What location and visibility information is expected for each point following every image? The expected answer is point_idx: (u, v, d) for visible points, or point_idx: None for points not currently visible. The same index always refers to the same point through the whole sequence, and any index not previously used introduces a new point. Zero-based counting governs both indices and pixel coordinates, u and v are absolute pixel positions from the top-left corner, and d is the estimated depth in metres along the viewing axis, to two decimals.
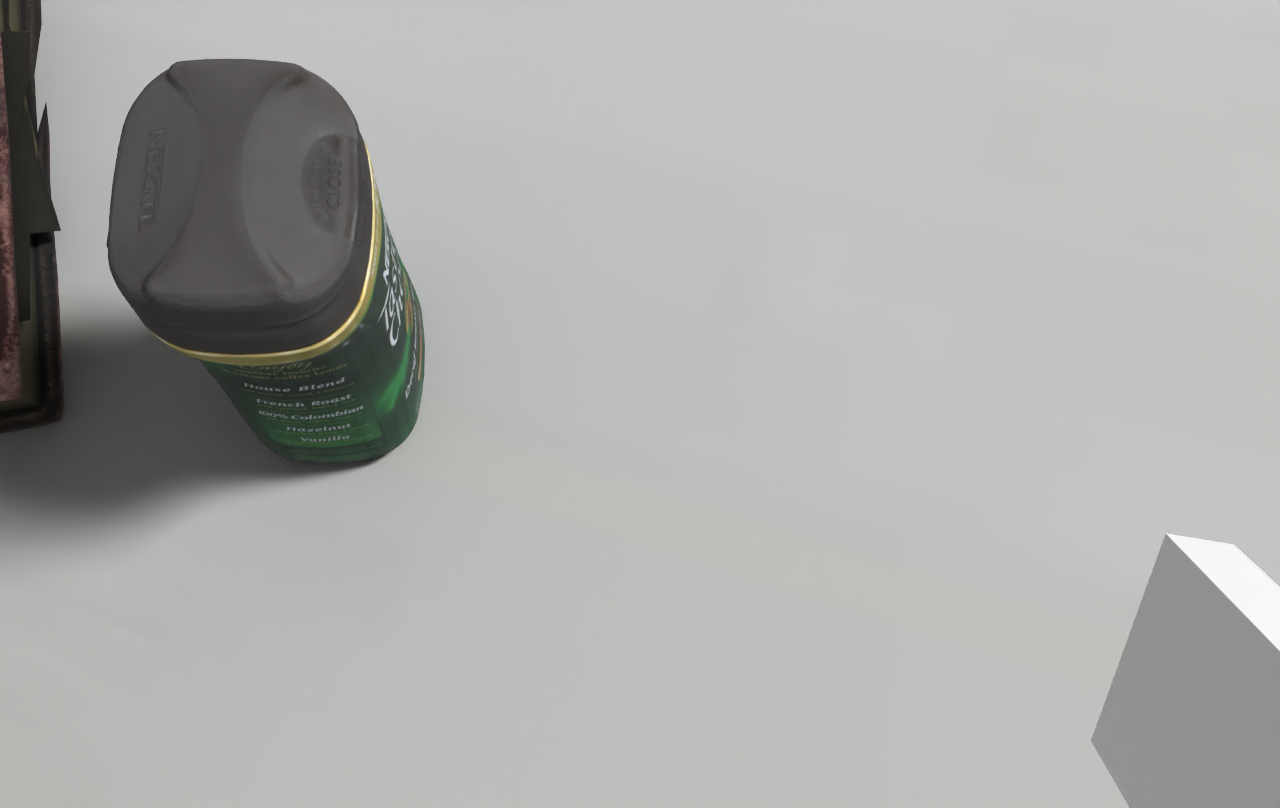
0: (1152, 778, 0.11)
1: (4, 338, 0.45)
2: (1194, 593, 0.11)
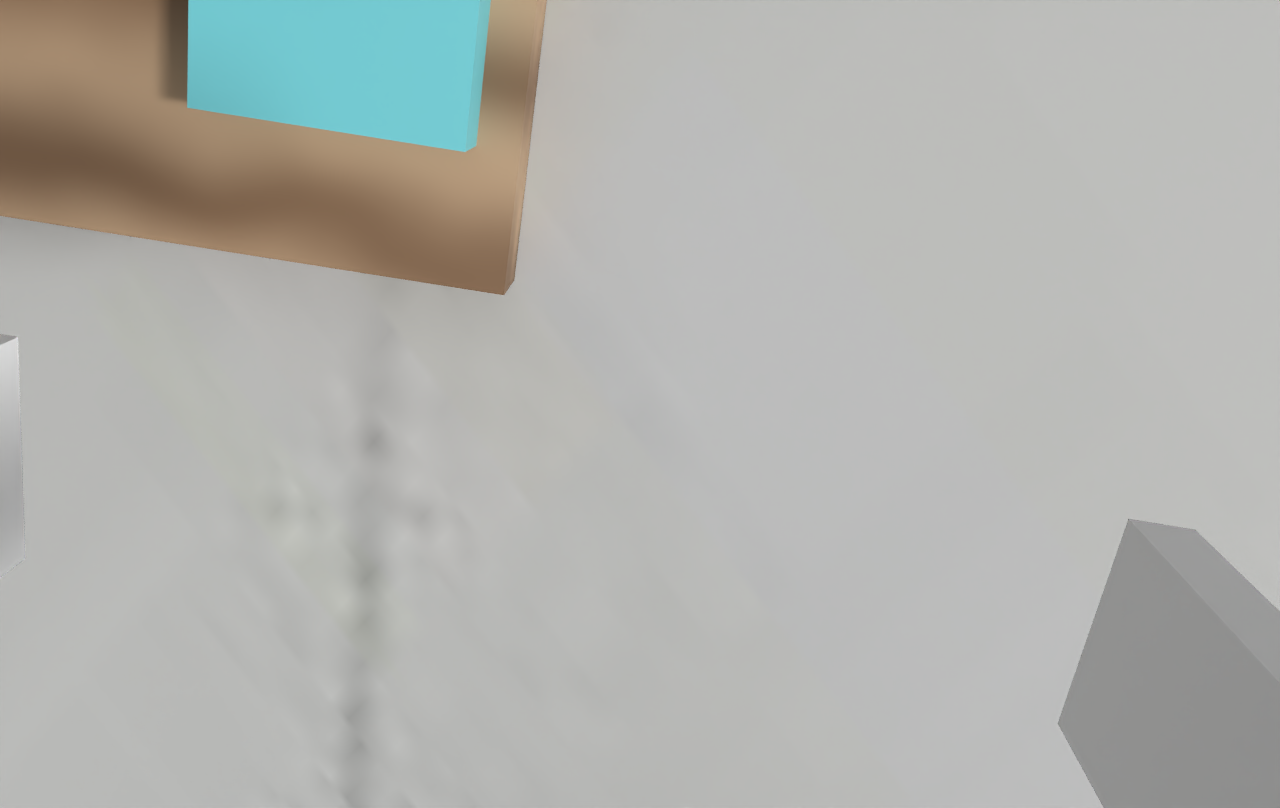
0: (1113, 758, 0.11)
1: None
2: (1154, 576, 0.11)
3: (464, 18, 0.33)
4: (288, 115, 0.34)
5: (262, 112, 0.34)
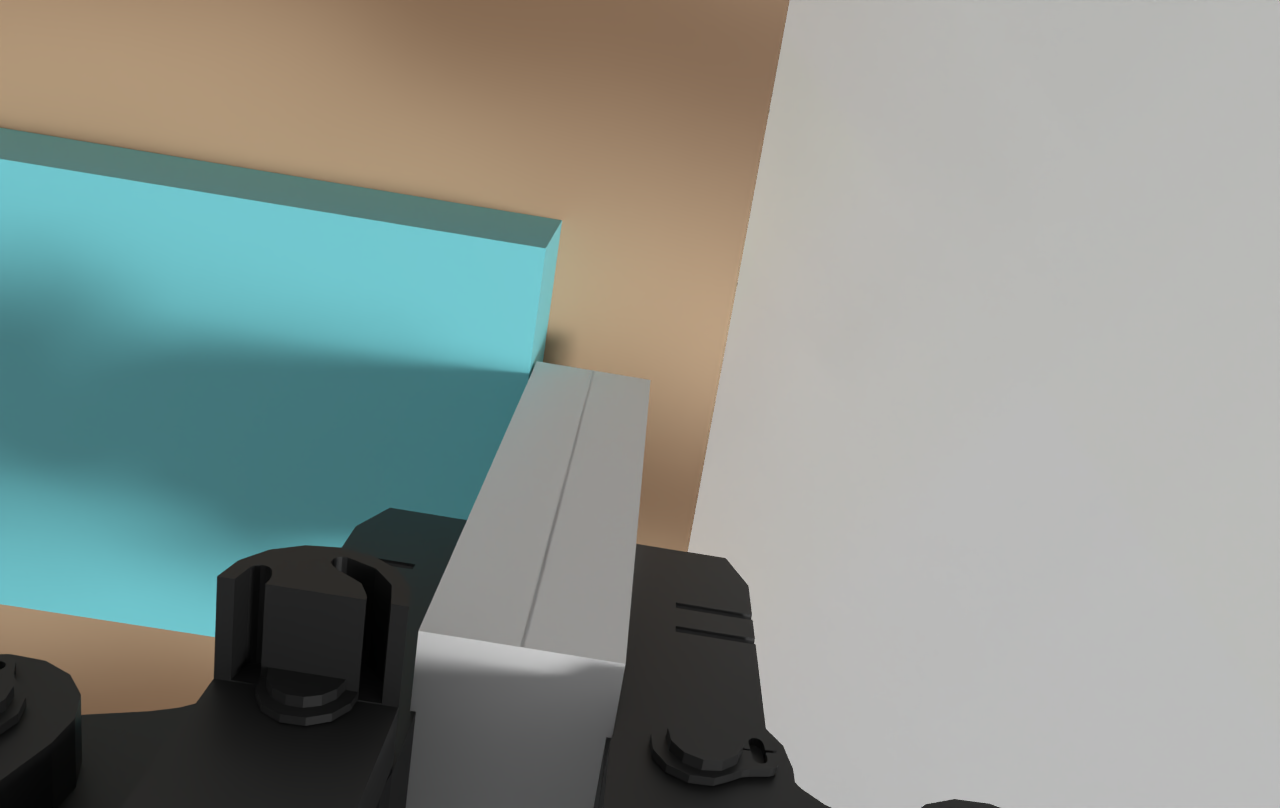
0: None
1: None
2: None
3: (492, 398, 0.13)
4: (66, 597, 0.14)
5: (4, 589, 0.14)
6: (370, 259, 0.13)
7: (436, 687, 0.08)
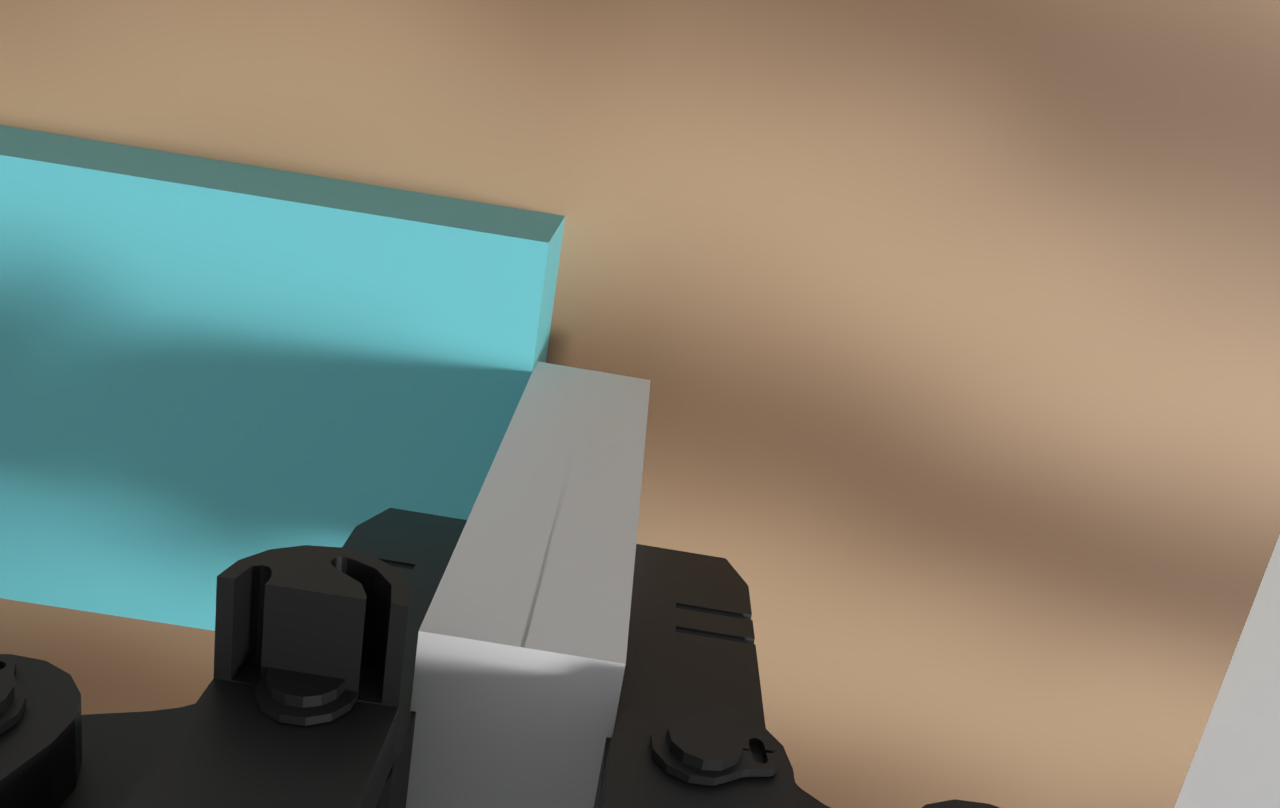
0: None
1: None
2: None
3: (495, 392, 0.13)
4: (74, 592, 0.14)
5: (12, 585, 0.14)
6: (375, 253, 0.13)
7: (437, 687, 0.08)
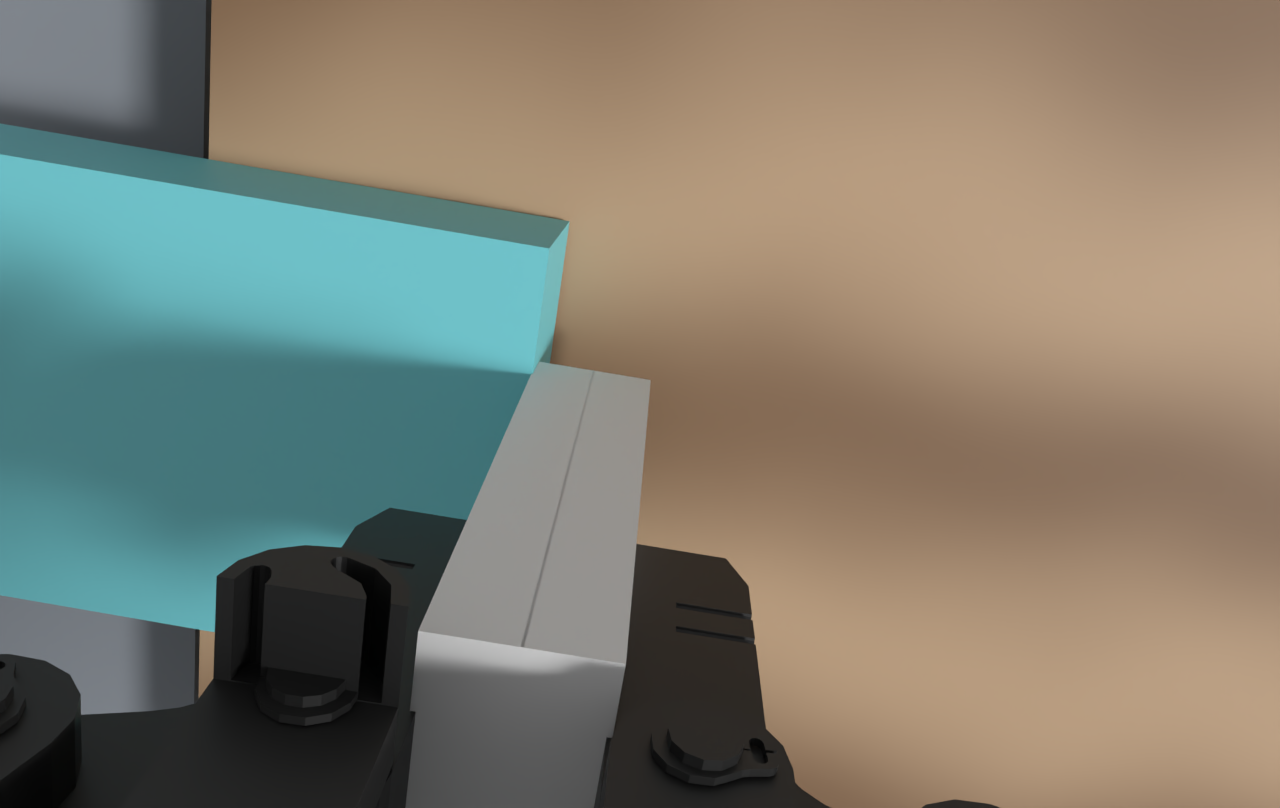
0: None
1: None
2: None
3: (495, 398, 0.13)
4: (76, 590, 0.14)
5: (15, 583, 0.14)
6: (375, 257, 0.13)
7: (436, 687, 0.08)
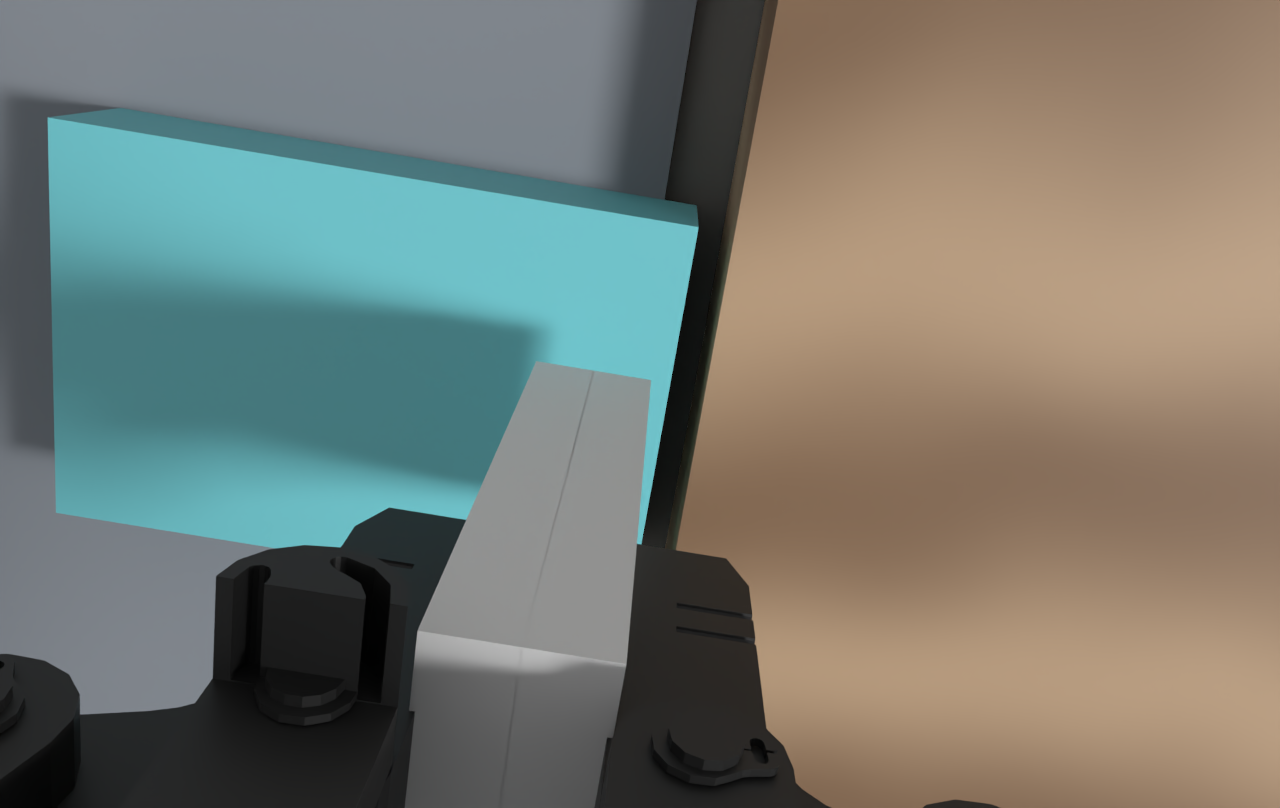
0: None
1: None
2: None
3: (645, 357, 0.15)
4: (266, 530, 0.17)
5: (212, 524, 0.17)
6: (547, 236, 0.15)
7: (435, 687, 0.08)
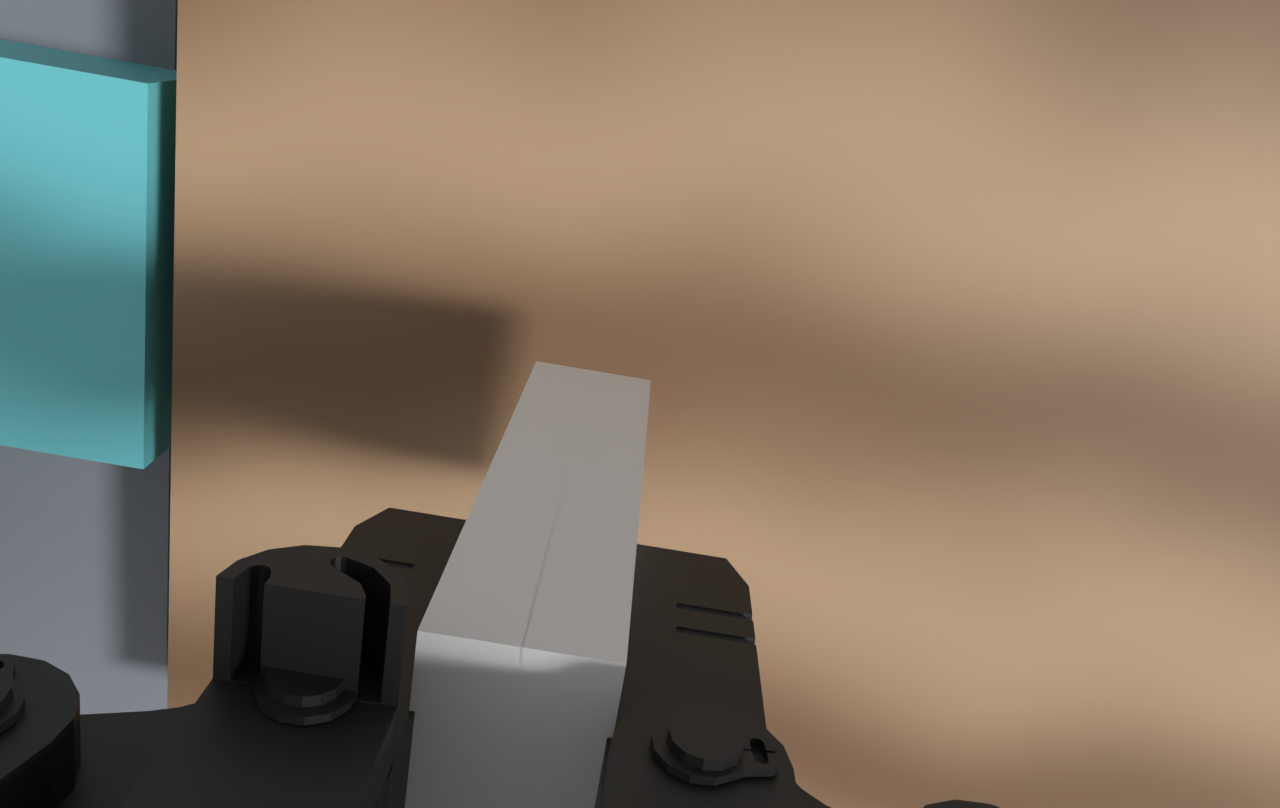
0: None
1: None
2: None
3: (118, 216, 0.16)
4: None
5: None
6: (4, 91, 0.15)
7: (436, 687, 0.08)
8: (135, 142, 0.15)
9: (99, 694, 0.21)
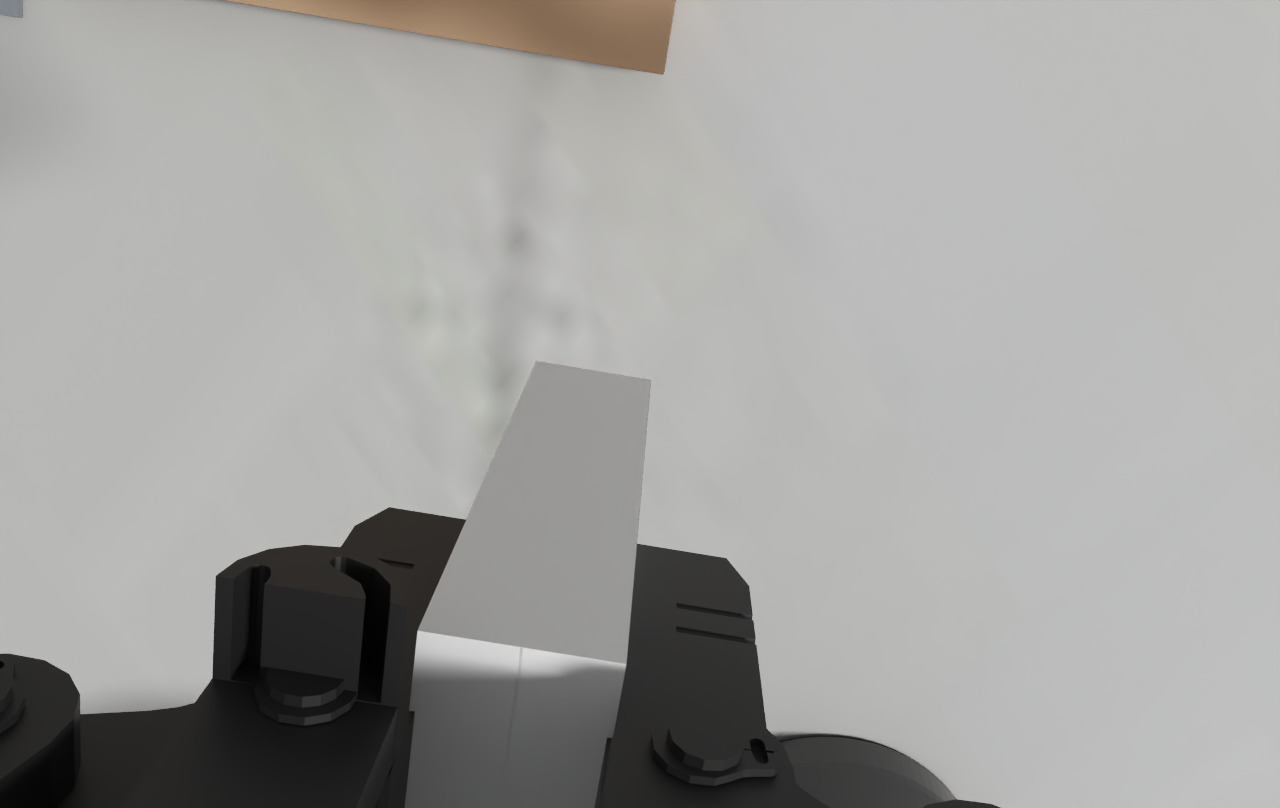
0: None
1: None
2: None
3: None
4: None
5: None
6: None
7: (436, 687, 0.08)
8: None
9: None
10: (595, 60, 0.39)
